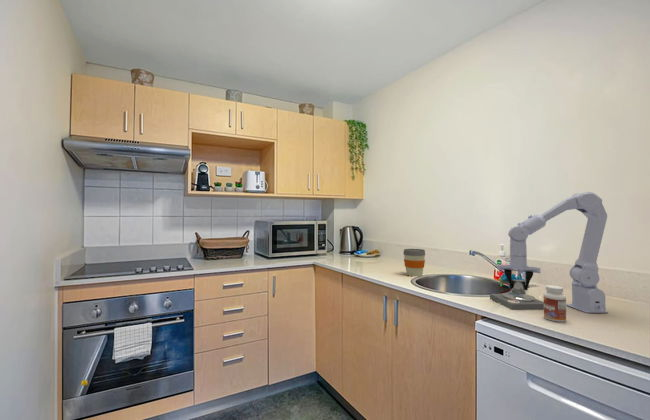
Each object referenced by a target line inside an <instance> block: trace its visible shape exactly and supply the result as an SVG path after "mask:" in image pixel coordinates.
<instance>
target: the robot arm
mask: <svg viewBox="0 0 650 420" xmlns="http://www.w3.org/2000/svg"><path fill="white" fill-rule="evenodd" d="M569 210H570V211H571V210H576V211H579V212H581V213H582V214H583V216H585V217H586V218H587V221H586V226H585V229H584V234H583V238H582V241H581V245H580V246H581V247H580V251H579V255H578V258H577V259H576V261H574V265H573V266H572V267H571V268H570V270H569V275H570V278H571V279H572V281H571V297H572V298H571V303H566V307H567V306H568V307H570V308H572V309H575V310H579V311H581V312H583V313H585V314H586V313H587V314H605V313H606V314H607V313H608V312H609V311H608V310H607V309H606V307H607V306H606V305H607V304H606V294H605V292H604V291H603V290H601V289H600V288H599V287H598V285H597V284H598V283H599V282H600V275H599V266H598V262H597V260H598V257H599V253H600V248H601V244H602V242H603V241H602V240H603V236H604V233H605V232H604V231H605V228H606V223H607V219H608V213H607V211H606V209H605V206H604V205H603V199H602V198H601V197H600V196H598V195H597V194H596V193H594V192H591V191H586V192H582V193H581V192H580V193H574V194H573V195H571V196H569V197H567V198H565V199H563V200H561V201H560V202H558V203H557V204H555V205H553V206H552V207H550V208H549V209H547V210H546V211H544V212H543V213H541V214H533V215H532V214H530V215H528V216H527V217H528V218H526V219H525V220H523V221H522V222H518V223H516V225H517V226H516V225H514V226H513V227H510V228H509V231H508V233H507V234H508V237H509V238H510V240H509V264H497V270H498V271H503V272H504V274H505V275H506V277H507V279H508V281H509V284H508V285H510V290H512V274H513V273H512V272H523V273H525V291H528V290H529V288H528V287H529V285H530V282H531V280H532V278H533V276H534V273H535V274H536V273H537V274H541V267H535V266H528V260H527V258H528V257H527V255H528V254H527V239H528V237H529V236H531V235H533V234H534V233H537V231H539V230H541V229H543V228H545V227H546V224H547V222H548V221H550V220H551V219H553V218H555V217H557V216H558V215H560V214H563V213H565V212H566V211H569Z"/></svg>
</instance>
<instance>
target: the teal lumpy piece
mask: <svg viewBox="0 0 650 420" xmlns="http://www.w3.org/2000/svg"><path fill="white" fill-rule="evenodd" d="M512 280H523V281H525V280H524V278H521V276H519V275H517V276H516V273H512ZM498 281H499V282H500V283H499V284H500V286H499V287H503V284H505V285H509V281H508V279H507V277H506V275H505V273H503V274H502V275H500V277H499V278H498ZM508 289H510V285H509V286H508ZM510 290H511V289H510Z"/></svg>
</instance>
